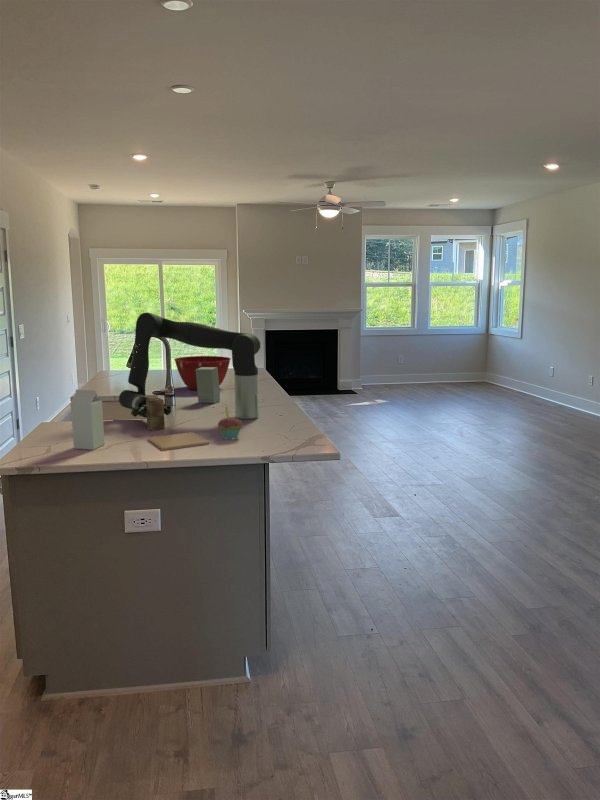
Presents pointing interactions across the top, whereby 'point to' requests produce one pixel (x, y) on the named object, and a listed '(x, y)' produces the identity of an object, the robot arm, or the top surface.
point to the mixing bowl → (192, 363)
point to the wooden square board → (178, 441)
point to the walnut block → (155, 413)
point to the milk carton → (87, 420)
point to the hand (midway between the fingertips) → (156, 413)
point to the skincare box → (208, 385)
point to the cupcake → (230, 426)
